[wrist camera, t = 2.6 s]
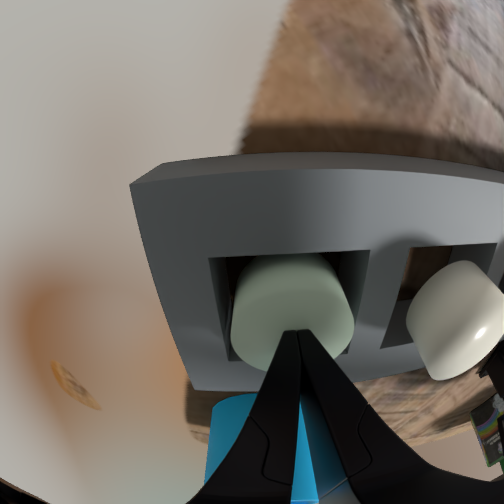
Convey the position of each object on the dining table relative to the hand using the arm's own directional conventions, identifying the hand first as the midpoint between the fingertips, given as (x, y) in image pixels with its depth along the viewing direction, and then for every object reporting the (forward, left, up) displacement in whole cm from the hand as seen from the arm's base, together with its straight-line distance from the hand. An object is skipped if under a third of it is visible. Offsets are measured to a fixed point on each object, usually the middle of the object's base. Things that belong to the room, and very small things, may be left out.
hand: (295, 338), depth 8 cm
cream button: (-6, 0, -1) cm, 6 cm away
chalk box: (-36, +30, -4) cm, 47 cm away
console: (-6, 0, -4) cm, 8 cm away
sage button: (0, 0, -2) cm, 2 cm away
